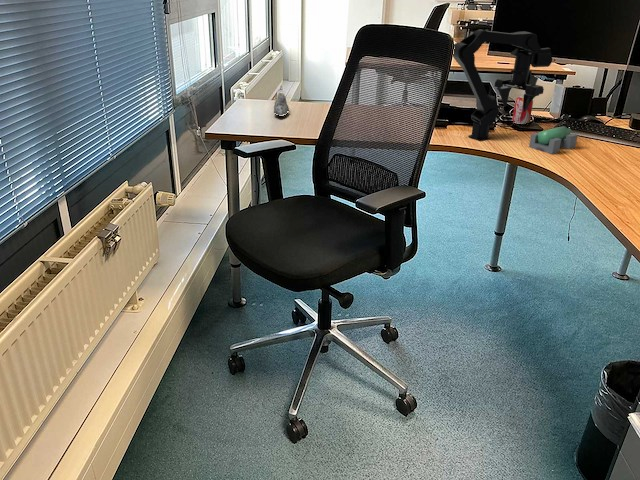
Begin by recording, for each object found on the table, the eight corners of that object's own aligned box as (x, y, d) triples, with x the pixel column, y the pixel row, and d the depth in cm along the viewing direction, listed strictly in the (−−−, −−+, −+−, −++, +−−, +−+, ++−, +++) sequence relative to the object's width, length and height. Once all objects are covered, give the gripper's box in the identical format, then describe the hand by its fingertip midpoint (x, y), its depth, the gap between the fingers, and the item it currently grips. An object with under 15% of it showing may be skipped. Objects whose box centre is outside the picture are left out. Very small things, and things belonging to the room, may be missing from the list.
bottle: (548, 145, 195) (549, 131, 193) (536, 144, 199) (537, 130, 197) (574, 138, 202) (575, 125, 201) (562, 137, 206) (562, 124, 205)
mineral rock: (280, 120, 232) (280, 97, 227) (261, 117, 236) (260, 94, 232) (297, 114, 241) (296, 91, 237) (277, 111, 246) (277, 89, 241)
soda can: (529, 127, 225) (535, 98, 219) (512, 126, 226) (517, 97, 220) (527, 122, 231) (533, 94, 225) (510, 121, 232) (515, 93, 226)
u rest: (551, 154, 194) (554, 141, 191) (528, 146, 201) (531, 134, 199) (574, 147, 200) (577, 134, 198) (551, 140, 208) (554, 128, 205)
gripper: (556, 69, 198) (548, 111, 205) (515, 62, 211) (508, 101, 219) (537, 72, 192) (529, 115, 199) (496, 64, 206) (490, 104, 213)
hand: (514, 108), depth 208 cm, fingers open, 9 cm apart
